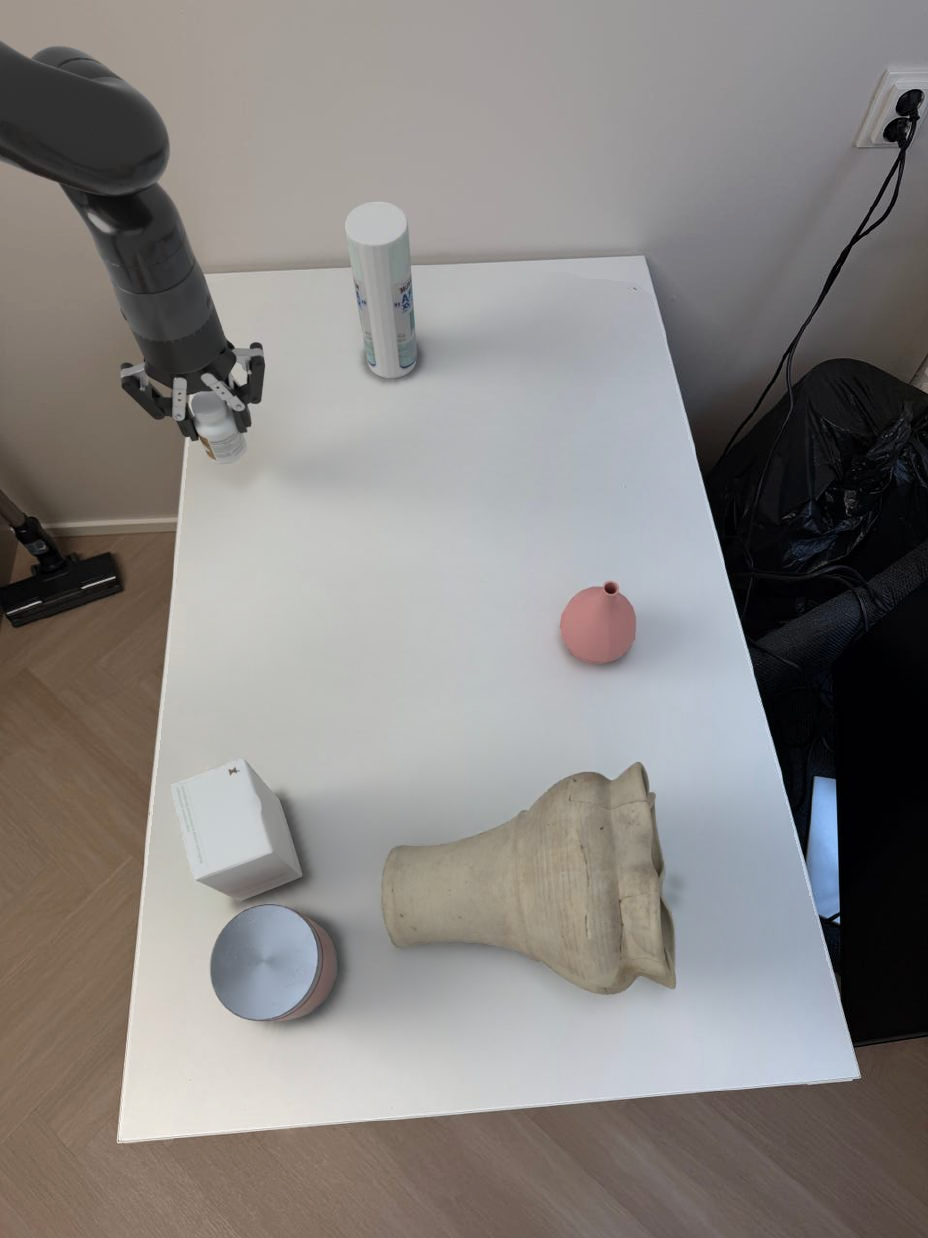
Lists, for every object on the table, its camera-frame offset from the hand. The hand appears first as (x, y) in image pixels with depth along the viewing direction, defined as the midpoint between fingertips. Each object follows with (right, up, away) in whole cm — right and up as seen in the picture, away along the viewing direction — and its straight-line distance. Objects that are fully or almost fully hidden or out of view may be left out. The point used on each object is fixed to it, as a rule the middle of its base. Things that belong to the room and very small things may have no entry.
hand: (218, 429), depth 88 cm
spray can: (+17, +12, +16) cm, 26 cm away
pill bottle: (0, -2, +3) cm, 4 cm away
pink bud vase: (+39, -22, 0) cm, 45 cm away
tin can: (+10, -51, -13) cm, 54 cm away
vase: (+31, -45, -10) cm, 55 cm away
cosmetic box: (+7, -42, -9) cm, 43 cm away
